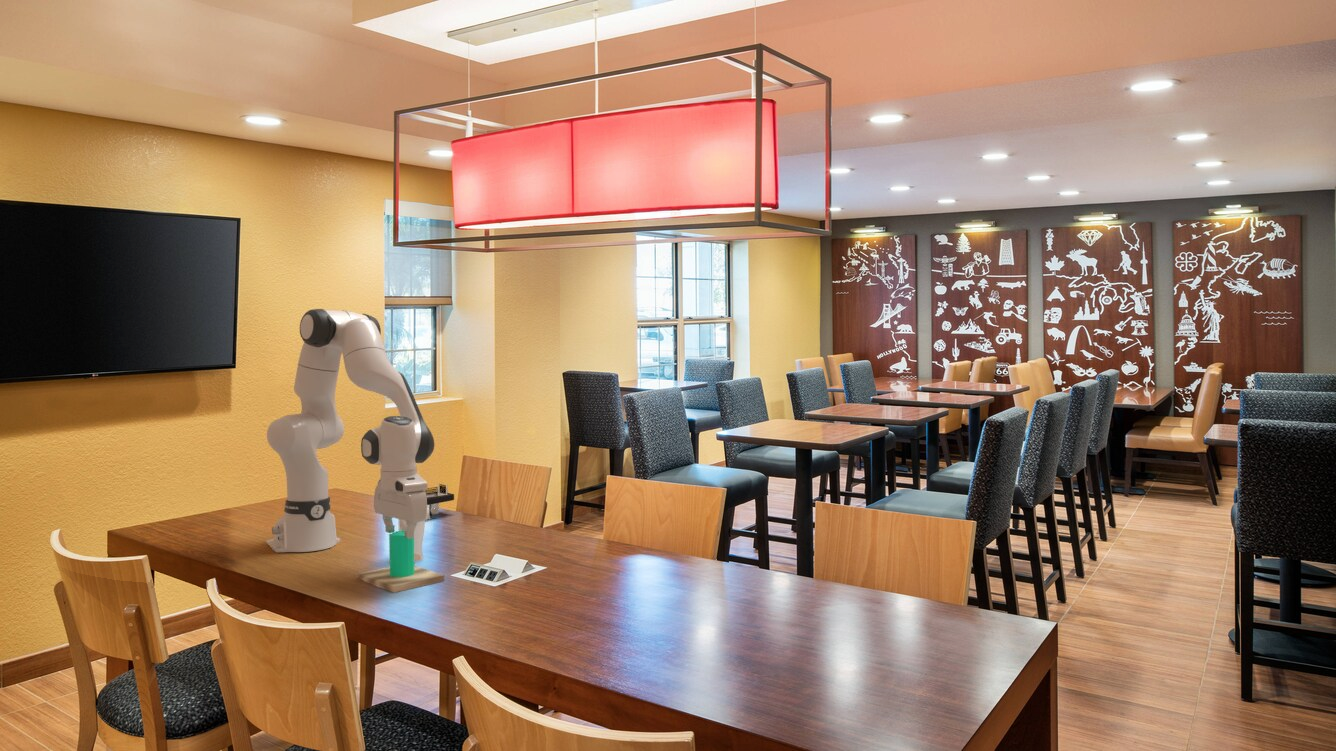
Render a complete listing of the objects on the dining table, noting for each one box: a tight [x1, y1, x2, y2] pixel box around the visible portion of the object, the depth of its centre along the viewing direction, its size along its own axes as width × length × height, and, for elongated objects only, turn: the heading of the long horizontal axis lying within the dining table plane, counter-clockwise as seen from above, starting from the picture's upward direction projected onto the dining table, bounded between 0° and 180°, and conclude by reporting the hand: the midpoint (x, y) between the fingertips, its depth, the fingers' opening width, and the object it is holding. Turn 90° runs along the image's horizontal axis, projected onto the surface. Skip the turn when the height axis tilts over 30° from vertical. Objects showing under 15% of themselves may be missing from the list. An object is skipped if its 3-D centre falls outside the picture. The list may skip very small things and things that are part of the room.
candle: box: [388, 527, 415, 577], centre depth 221 cm, size 6×6×12 cm
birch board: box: [357, 565, 445, 594], centre depth 221 cm, size 18×14×2 cm
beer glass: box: [397, 519, 426, 562], centre depth 240 cm, size 7×7×15 cm
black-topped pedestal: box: [423, 483, 455, 522], centre depth 290 cm, size 28×26×13 cm
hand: (399, 535), depth 221 cm, fingers open, 8 cm apart
